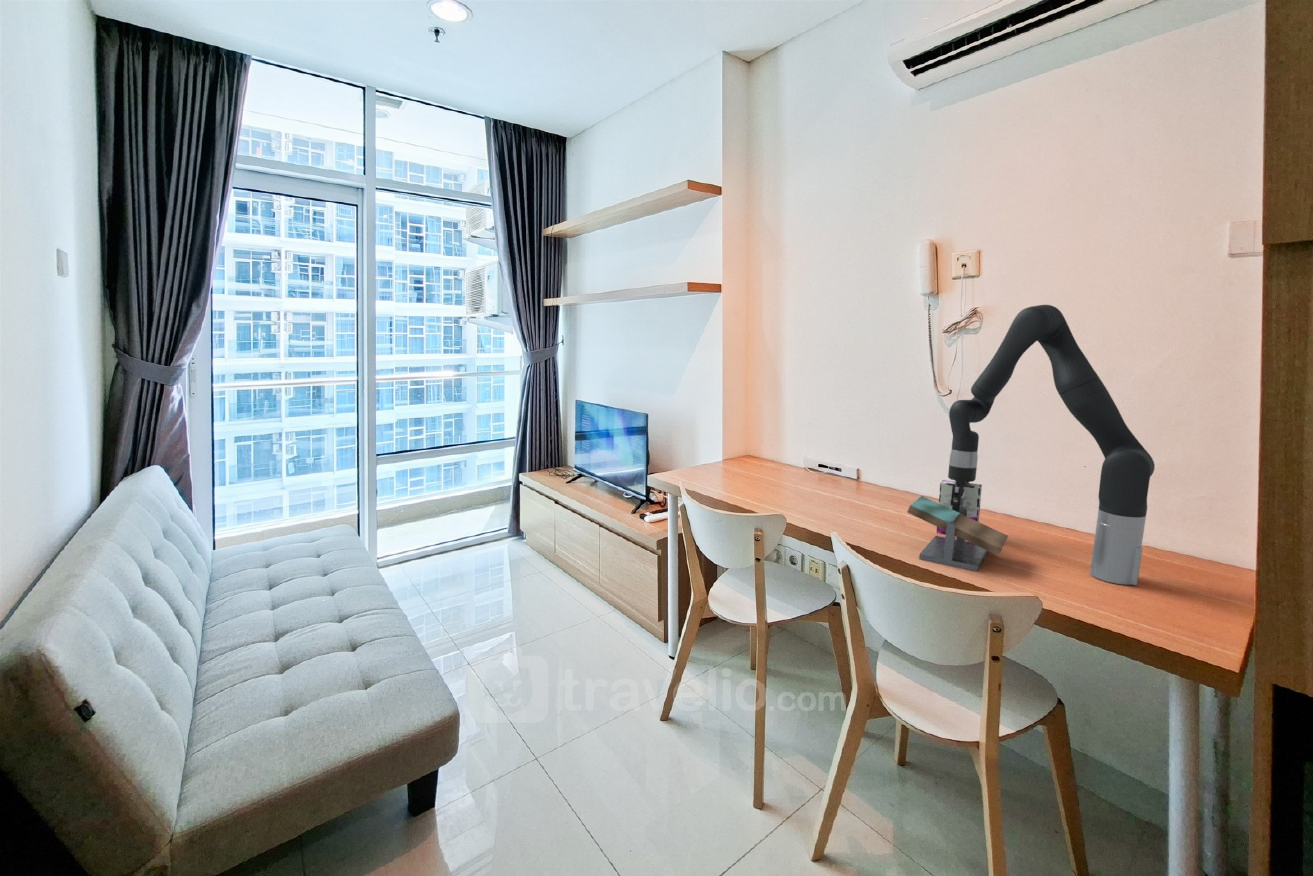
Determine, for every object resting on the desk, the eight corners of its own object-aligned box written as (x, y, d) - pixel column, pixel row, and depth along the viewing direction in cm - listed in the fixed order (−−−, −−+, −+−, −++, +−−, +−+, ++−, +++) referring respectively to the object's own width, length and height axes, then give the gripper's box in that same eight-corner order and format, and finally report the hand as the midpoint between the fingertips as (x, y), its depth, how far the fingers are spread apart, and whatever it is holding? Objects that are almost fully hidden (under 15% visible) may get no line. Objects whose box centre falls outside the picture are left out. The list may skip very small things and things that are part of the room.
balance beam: (1005, 541, 158) (1009, 534, 157) (998, 556, 146) (1002, 549, 145) (919, 501, 170) (922, 495, 169) (906, 512, 158) (909, 505, 158)
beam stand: (988, 550, 163) (992, 511, 161) (976, 571, 147) (981, 528, 145) (935, 540, 171) (938, 503, 169) (919, 559, 155) (922, 518, 154)
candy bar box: (977, 535, 176) (982, 484, 174) (976, 539, 172) (981, 487, 170) (938, 528, 183) (942, 479, 180) (935, 532, 178) (940, 482, 176)
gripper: (972, 469, 166) (967, 523, 169) (980, 462, 177) (975, 512, 180) (944, 466, 171) (939, 518, 173) (953, 459, 182) (949, 508, 184)
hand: (957, 515), depth 176 cm, fingers open, 8 cm apart
